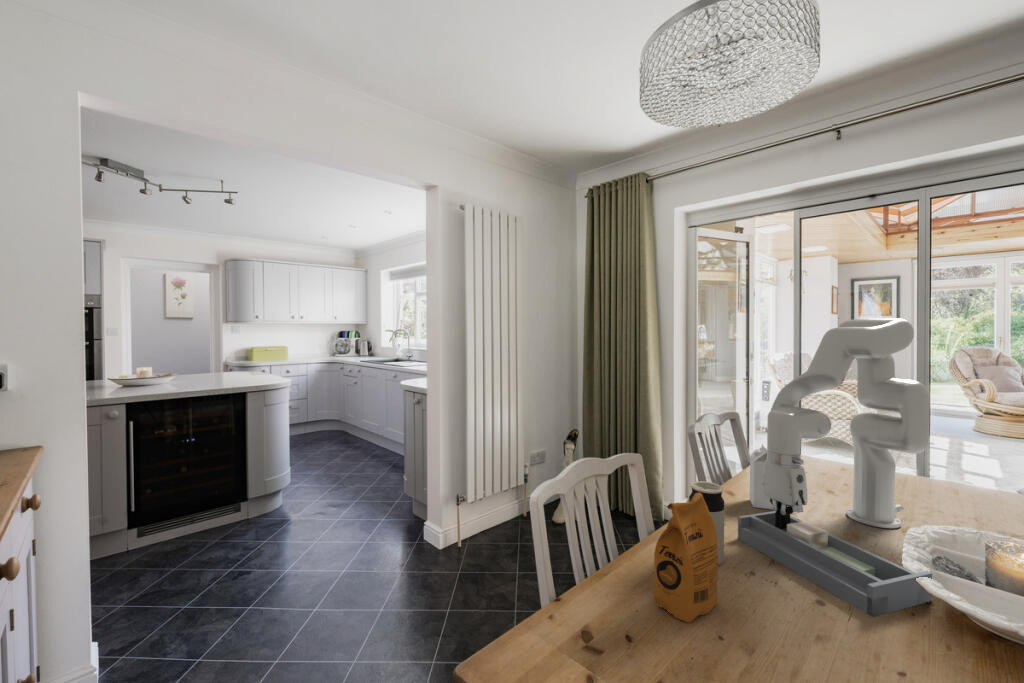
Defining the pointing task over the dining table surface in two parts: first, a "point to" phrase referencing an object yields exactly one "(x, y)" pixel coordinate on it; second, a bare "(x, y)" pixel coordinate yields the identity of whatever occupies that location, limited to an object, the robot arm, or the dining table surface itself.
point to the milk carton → (758, 479)
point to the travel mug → (713, 509)
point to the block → (809, 533)
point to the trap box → (837, 567)
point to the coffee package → (687, 561)
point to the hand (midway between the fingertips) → (782, 527)
